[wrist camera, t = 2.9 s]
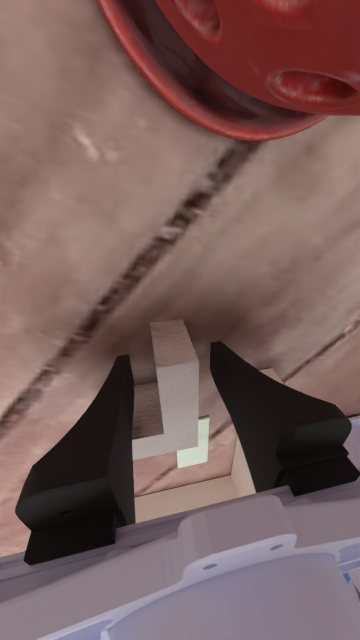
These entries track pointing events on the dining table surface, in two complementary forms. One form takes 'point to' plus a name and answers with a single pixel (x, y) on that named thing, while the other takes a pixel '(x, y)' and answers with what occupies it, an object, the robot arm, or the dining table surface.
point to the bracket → (168, 395)
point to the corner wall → (201, 487)
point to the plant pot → (245, 60)
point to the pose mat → (196, 453)
